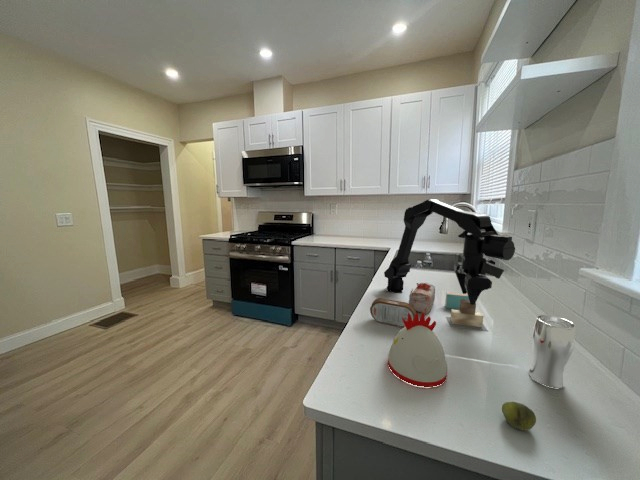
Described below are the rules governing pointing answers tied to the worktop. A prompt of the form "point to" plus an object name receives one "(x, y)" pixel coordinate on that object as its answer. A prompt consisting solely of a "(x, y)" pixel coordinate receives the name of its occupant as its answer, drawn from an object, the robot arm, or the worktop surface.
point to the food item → (422, 297)
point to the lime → (519, 415)
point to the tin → (391, 311)
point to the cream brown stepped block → (466, 315)
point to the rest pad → (466, 326)
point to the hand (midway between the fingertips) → (468, 298)
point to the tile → (454, 300)
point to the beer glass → (551, 349)
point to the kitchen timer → (418, 353)
